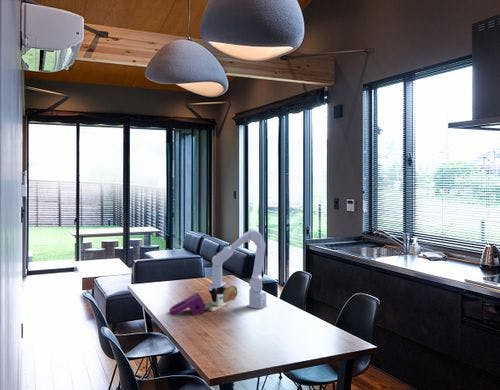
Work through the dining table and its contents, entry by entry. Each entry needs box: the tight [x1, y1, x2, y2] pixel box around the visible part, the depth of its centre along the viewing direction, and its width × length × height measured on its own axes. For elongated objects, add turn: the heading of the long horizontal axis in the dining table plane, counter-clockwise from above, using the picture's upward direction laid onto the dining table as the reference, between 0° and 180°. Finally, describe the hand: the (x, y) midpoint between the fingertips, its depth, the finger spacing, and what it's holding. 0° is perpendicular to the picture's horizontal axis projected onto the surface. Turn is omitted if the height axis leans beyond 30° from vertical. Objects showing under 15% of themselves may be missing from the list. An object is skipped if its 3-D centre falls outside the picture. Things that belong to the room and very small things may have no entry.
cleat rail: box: [203, 300, 229, 312], centre depth 262 cm, size 6×14×3 cm, turn 147°
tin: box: [223, 285, 238, 303], centre depth 279 cm, size 15×3×8 cm, turn 143°
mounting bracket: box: [169, 292, 205, 315], centre depth 252 cm, size 9×8×18 cm
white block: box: [210, 294, 223, 306], centre depth 262 cm, size 6×4×6 cm
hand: (217, 300), depth 262 cm, fingers closed on white block, 4 cm apart
